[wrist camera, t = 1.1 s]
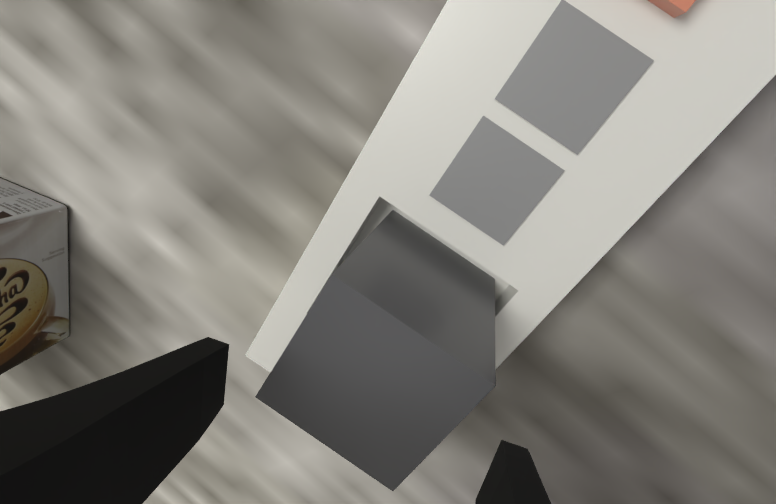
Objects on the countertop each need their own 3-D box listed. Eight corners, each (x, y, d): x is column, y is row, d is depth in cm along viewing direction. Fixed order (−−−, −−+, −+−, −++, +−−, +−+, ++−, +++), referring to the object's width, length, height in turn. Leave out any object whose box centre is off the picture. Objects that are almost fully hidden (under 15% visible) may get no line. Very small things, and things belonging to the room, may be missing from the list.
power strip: (794, 5, 13) (889, -25, 10) (414, 425, 22) (401, 478, 19) (555, -155, 13) (574, -235, 10) (272, 327, 22) (235, 365, 19)
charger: (494, 278, 17) (495, 385, 11) (426, 359, 19) (393, 491, 13) (392, 209, 17) (331, 274, 11) (335, 297, 19) (255, 397, 13)
